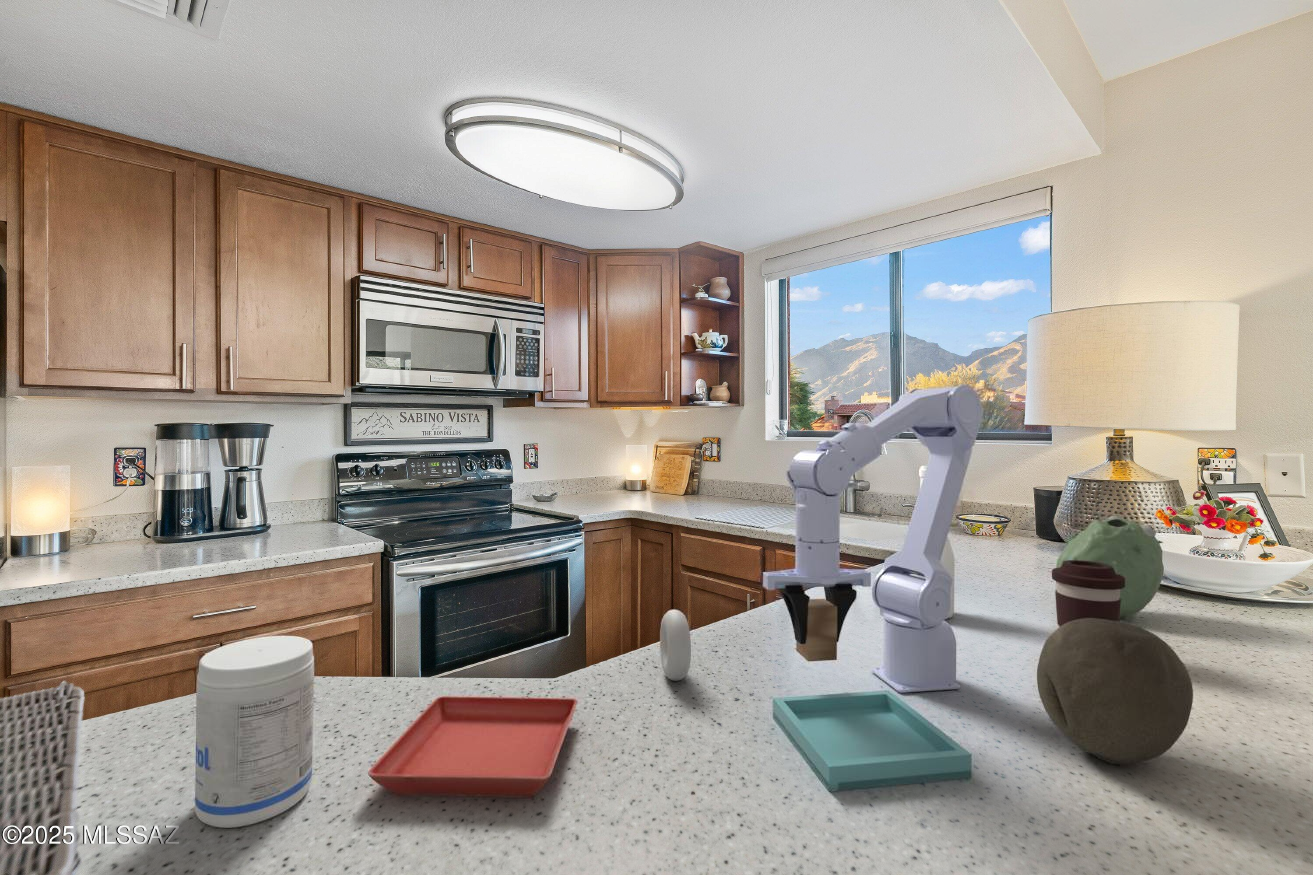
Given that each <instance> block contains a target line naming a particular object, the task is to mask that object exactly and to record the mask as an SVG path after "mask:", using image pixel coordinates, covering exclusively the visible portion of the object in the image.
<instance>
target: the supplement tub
mask: <svg viewBox="0 0 1313 875" xmlns="http://www.w3.org/2000/svg"><path fill="white" fill-rule="evenodd" d="M313 648H314V647H313V642H312V641H311V640H309V639H307V638H305V637H301V636H296V635H271V636H262V637H254V638H250V639H244V640H243V639H242V640H239V641H236V642H231V643H229V644H225V645H223V646H220V647H217V648H215V649H213V650H210V651H208V652H207V653H205V655H203V656H202V657H201V658H200V659H199V662H198V673H197V675H196V680H197V681H196V691H195V692H196V694H195V696H196V697H195V698H196V699H195V700H196V701H195V704H196V705H195V763H194V764H195V768H194V769H195V774H194V775H195V777H194V778H195V779H194V781H195V782H194V786H195V787H194V811H195V815H196V817H197V818H198V819H199V820H200V821H201V822H202V823H204V824H206V825H209V826H211V827H215V828H225V829H227V828H228V829H229V828H238V827H239V828H240V827H245V826H250V825H254V824H257V823H260V822H263V821H266V820H268V819H271V818H273V817H276V816H278V815H281V814H282V813H284V812H285V811H287V810H289V809H291V808H292V807H294V806H295V805H296V804H297V803H298V802H299V801H301V799H303V797H304V796H305V795H306V794H307V793H308V791H309V789H310V787H311V785H312V783H313V782H312V781H313V761H314V760H313V759H314V756H313V755H314V754H313V752H314V748H313V747H314V706H315V704H314V702H315V701H314V699H315V696H314V694H315V689H314V688H315V655H314V650H313Z"/></svg>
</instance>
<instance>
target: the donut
mask: <svg viewBox="0 0 1313 875" xmlns="http://www.w3.org/2000/svg"><path fill="white" fill-rule="evenodd" d="M688 622H689V621H688V620H687V618H686V615H685V614H684V613H683V612H682V611H680V610H678V609H674V608H673V609H670V610H668V611H666V613H665V614H664V615H663V617H662V618H661V622H660V630H659V650H660V652H659V653H660V661H661V666H662V670H663V673H664V674H665V676H666V677H667V678H668V679H669V680H671V681H673V682H674V681H675V682H677V681H678V682H679V681H681V680H682V679H685V677H686V676H687V675H688V674H689V670H690V667H691V662H692V660H691V657H692V641H691V631H690V627H689V623H688Z"/></svg>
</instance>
